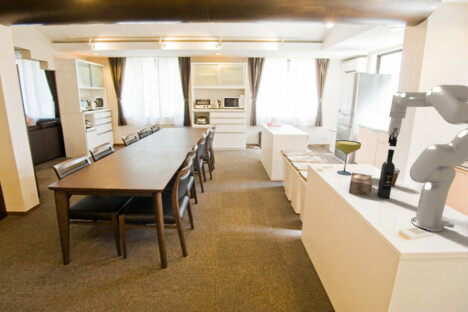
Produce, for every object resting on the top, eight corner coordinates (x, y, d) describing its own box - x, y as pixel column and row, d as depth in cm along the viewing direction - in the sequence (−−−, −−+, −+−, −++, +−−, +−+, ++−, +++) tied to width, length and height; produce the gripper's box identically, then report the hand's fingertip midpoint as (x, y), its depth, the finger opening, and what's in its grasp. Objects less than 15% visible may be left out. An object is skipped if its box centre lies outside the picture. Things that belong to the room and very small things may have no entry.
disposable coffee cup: (394, 183, 176) (397, 167, 173) (399, 188, 167) (402, 171, 164) (379, 182, 179) (382, 166, 176) (383, 186, 170) (386, 169, 167)
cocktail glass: (360, 177, 188) (365, 144, 182) (336, 176, 189) (340, 144, 183) (350, 169, 206) (354, 140, 200) (328, 169, 206) (332, 139, 200)
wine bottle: (389, 199, 149) (398, 151, 141) (379, 198, 150) (387, 150, 142) (386, 196, 154) (394, 148, 147) (376, 195, 155) (384, 148, 148)
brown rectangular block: (369, 186, 170) (371, 174, 167) (370, 196, 152) (372, 184, 150) (350, 183, 175) (352, 172, 173) (348, 193, 158) (350, 180, 156)
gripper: (388, 113, 149) (383, 141, 153) (390, 115, 134) (385, 146, 138) (403, 114, 145) (397, 142, 150) (407, 116, 130) (401, 148, 135)
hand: (391, 144), depth 144 cm, fingers open, 9 cm apart
